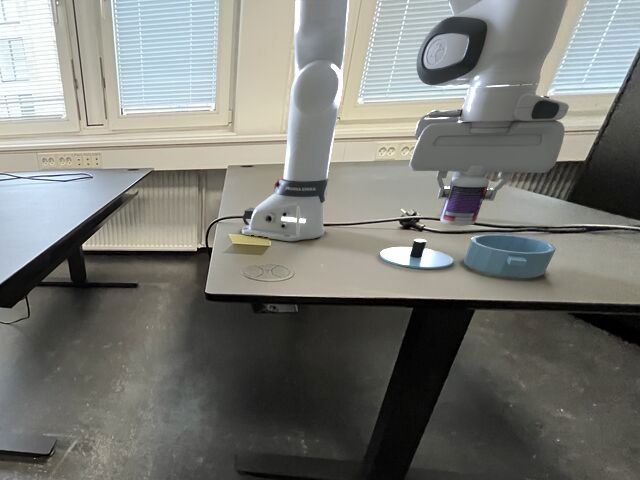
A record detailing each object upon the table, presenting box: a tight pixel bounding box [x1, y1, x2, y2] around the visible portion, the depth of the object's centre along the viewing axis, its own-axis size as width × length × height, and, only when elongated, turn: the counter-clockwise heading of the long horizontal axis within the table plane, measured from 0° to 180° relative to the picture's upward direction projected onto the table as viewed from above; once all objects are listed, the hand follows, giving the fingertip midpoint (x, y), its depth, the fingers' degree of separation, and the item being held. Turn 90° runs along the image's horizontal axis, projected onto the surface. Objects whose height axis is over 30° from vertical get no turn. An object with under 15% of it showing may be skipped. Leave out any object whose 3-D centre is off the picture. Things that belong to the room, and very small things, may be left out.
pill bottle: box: [439, 166, 490, 227], centre depth 72 cm, size 5×5×10 cm
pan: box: [463, 233, 557, 278], centre depth 84 cm, size 13×19×5 cm
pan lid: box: [379, 238, 454, 270], centre depth 90 cm, size 14×14×5 cm
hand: (464, 199), depth 72 cm, fingers closed on pill bottle, 5 cm apart
